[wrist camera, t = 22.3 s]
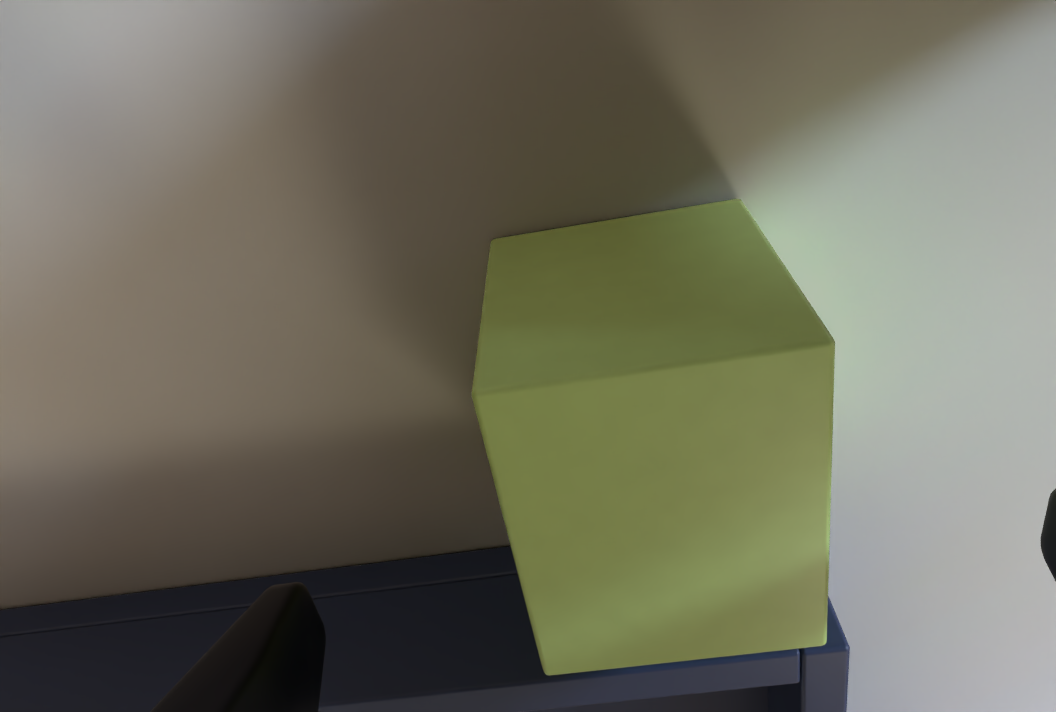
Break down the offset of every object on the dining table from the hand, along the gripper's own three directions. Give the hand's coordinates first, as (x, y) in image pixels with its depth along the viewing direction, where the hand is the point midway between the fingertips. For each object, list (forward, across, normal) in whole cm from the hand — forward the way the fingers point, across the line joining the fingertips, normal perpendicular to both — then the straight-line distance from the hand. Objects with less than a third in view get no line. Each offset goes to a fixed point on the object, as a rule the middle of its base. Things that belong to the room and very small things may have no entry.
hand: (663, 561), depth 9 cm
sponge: (+5, 0, 0) cm, 5 cm away
